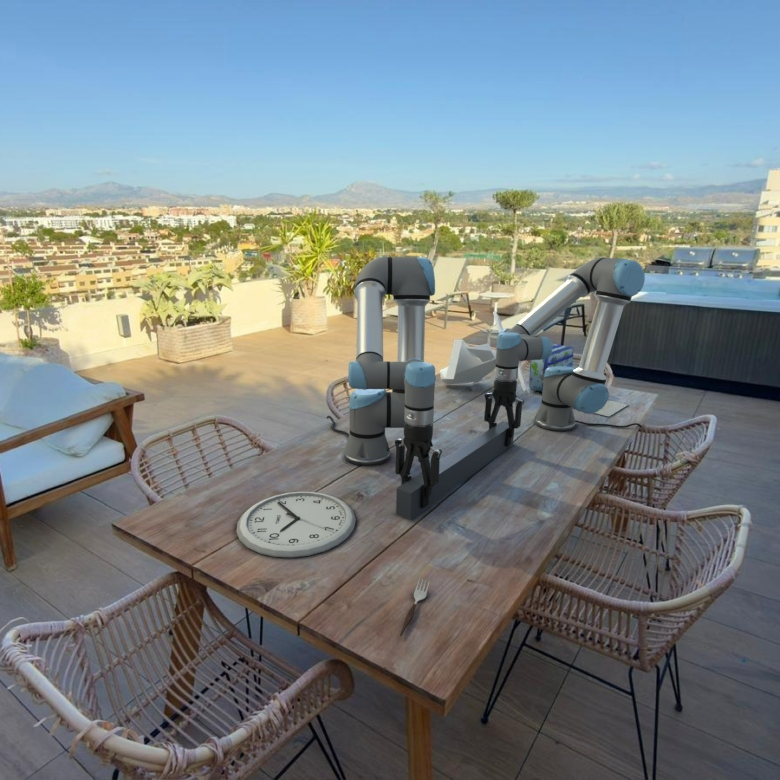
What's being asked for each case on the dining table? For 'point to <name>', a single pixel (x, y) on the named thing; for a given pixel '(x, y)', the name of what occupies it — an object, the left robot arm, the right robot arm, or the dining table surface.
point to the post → (453, 470)
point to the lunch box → (549, 365)
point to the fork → (418, 596)
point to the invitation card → (611, 408)
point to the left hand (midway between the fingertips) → (415, 502)
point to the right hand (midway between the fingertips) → (500, 443)
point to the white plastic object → (474, 362)
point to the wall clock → (296, 524)
